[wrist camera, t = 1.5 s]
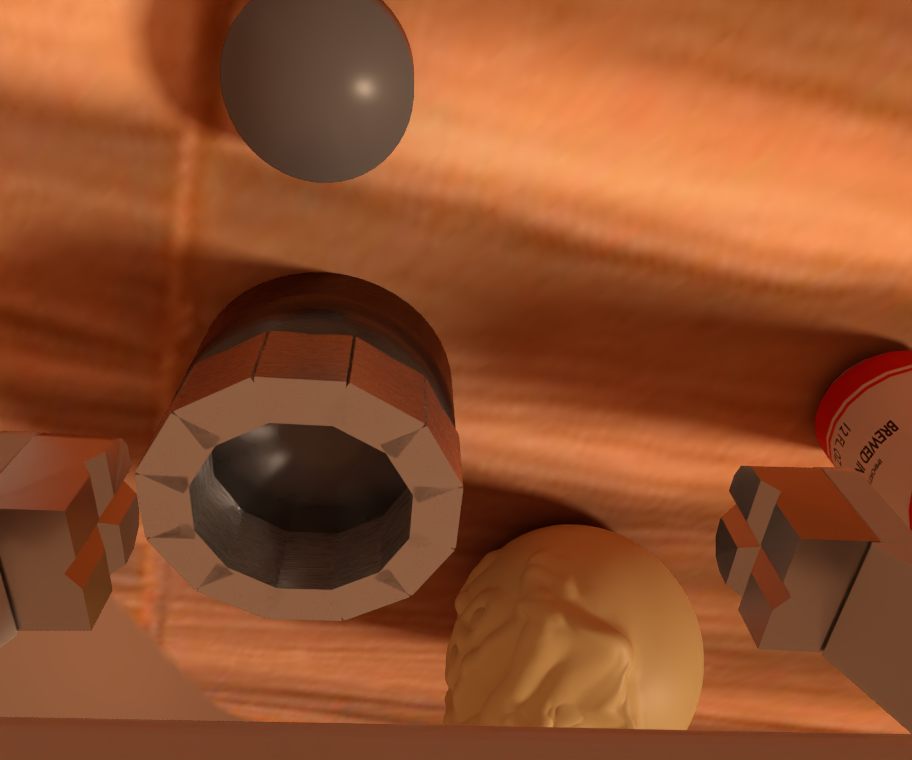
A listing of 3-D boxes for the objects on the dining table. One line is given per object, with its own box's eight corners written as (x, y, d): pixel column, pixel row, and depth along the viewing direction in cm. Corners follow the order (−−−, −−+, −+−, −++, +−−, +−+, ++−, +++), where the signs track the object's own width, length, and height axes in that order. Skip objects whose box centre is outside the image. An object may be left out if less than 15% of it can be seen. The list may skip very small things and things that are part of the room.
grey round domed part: (234, -36, 24) (212, -31, 21) (419, -17, 24) (420, -10, 22) (244, 151, 27) (226, 175, 24) (408, 164, 27) (408, 189, 25)
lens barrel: (185, 263, 29) (114, 367, 22) (463, 282, 30) (478, 387, 23) (207, 481, 35) (157, 617, 28) (441, 490, 36) (447, 624, 29)
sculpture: (496, 463, 35) (525, 654, 26) (708, 528, 38) (801, 721, 29) (410, 618, 40) (408, 821, 31) (601, 665, 43) (651, 864, 34)
